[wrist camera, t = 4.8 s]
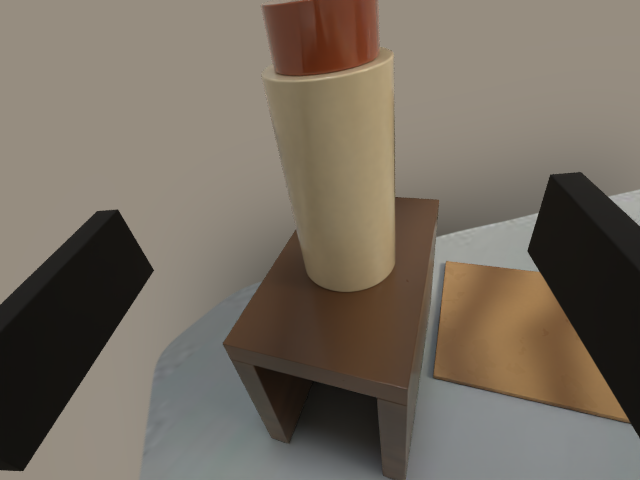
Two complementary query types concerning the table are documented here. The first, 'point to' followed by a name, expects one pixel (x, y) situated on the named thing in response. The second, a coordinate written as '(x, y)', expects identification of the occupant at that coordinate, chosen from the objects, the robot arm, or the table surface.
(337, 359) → the shelf
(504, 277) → the cork mat
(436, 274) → the table surface
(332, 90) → the spice bottle
